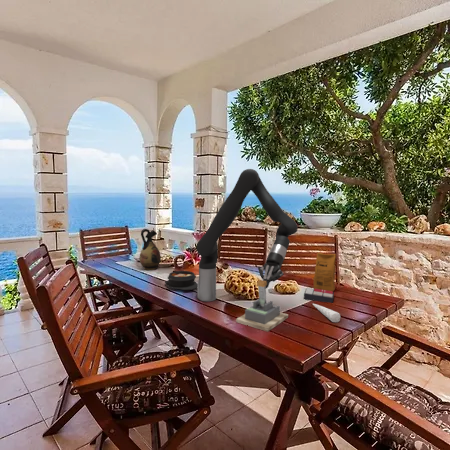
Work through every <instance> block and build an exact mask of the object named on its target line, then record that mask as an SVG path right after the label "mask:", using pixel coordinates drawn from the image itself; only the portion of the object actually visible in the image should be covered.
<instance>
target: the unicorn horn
mask: <svg viewBox="0 0 450 450" xmlns="http://www.w3.org/2000/svg"><path fill="white" fill-rule="evenodd" d="M312 306H313V307H315V309H317V310H318V312H320V313H321V314H322V315H324V316H325V317H326V318H327V319H328V320H329V321H330V322H332V323H339V322H340V320H341V313H339V312H338V311H335V310H333V309H330V308H327V307H325V306H323V305H319V304H316V303H312Z"/></svg>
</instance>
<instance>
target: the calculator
mask: <svg viewBox="0 0 450 450" xmlns="http://www.w3.org/2000/svg"><path fill="white" fill-rule="evenodd" d="M334 295H335V292H334V291H328V290H321V289H313V287H312V288H311V287H306V288H305V291H304V293H303V300H304V299H305V301H315V302H321V303H322V302H323V303H330V304H333V303H334V298H335V297H334Z"/></svg>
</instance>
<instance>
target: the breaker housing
mask: <svg viewBox="0 0 450 450" xmlns="http://www.w3.org/2000/svg"><path fill="white" fill-rule="evenodd" d="M273 302H274V301H273V300H270V301H267V302H266V304H264V307H260V306H258V303H259V298H258V299H256V300H255V301H253V302H252V306H250V307H248V308H246V309H244V314H245V319H247V320H251V321H254V322H258V323H261V324H266V323H268V322H269V321H271V320H272V319H274V318H275V317H277V316H278V315H280V312H281V306H280V305H276V304H274V303H273Z"/></svg>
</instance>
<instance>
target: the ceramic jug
mask: <svg viewBox="0 0 450 450" xmlns="http://www.w3.org/2000/svg"><path fill="white" fill-rule="evenodd" d="M146 232H147V233H146ZM144 233H146V235H145V236H144ZM157 235H158V233H157V232H156V231H155V230H149V229H148V228H143V229H141V232H140V236H141V239H142V242H143V247H142V248H141V250H140V253H139V263H140V264H141V266H142V267H143V269H144V270H148V271H153V270H157V269H158V267H159V265H160V264H161V261H162V256H161V252H160V249H159V248H158V247H157V245H156V244H155V242H153V237H155V236H157Z"/></svg>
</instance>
